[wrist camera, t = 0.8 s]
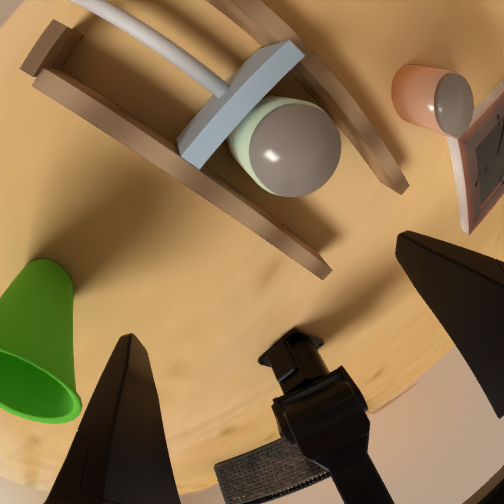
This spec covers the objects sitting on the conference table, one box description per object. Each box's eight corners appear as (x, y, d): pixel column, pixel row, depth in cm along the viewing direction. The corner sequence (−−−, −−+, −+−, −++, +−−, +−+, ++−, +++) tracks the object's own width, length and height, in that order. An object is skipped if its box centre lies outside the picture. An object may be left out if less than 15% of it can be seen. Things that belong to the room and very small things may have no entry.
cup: (107, 260, 21) (92, 380, 12) (82, 330, 24) (74, 433, 15) (12, 220, 16) (-52, 321, 7) (3, 299, 19) (-29, 396, 10)
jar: (438, 99, 21) (480, 112, 17) (409, 134, 22) (452, 152, 18) (414, 53, 18) (460, 59, 13) (381, 87, 19) (428, 97, 15)
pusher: (271, 60, 16) (304, 55, 12) (190, 148, 18) (199, 169, 14) (125, -43, 9) (117, -75, 5) (41, 51, 11) (7, 45, 7)
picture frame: (508, 69, 21) (442, 133, 24) (521, 73, 19) (459, 140, 22) (518, 154, 30) (458, 227, 34) (528, 159, 28) (470, 236, 32)
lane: (388, 173, 24) (414, 188, 21) (308, 260, 27) (325, 284, 24) (152, -52, 9) (152, -75, 6) (38, 77, 12) (14, 78, 9)
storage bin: (306, 424, 56) (329, 472, 45) (328, 433, 67) (346, 470, 57) (207, 465, 58) (220, 509, 47) (245, 469, 69) (257, 504, 59)
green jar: (317, 131, 20) (359, 149, 16) (267, 186, 21) (297, 217, 17) (265, 78, 17) (300, 79, 13) (208, 140, 18) (225, 160, 14)
